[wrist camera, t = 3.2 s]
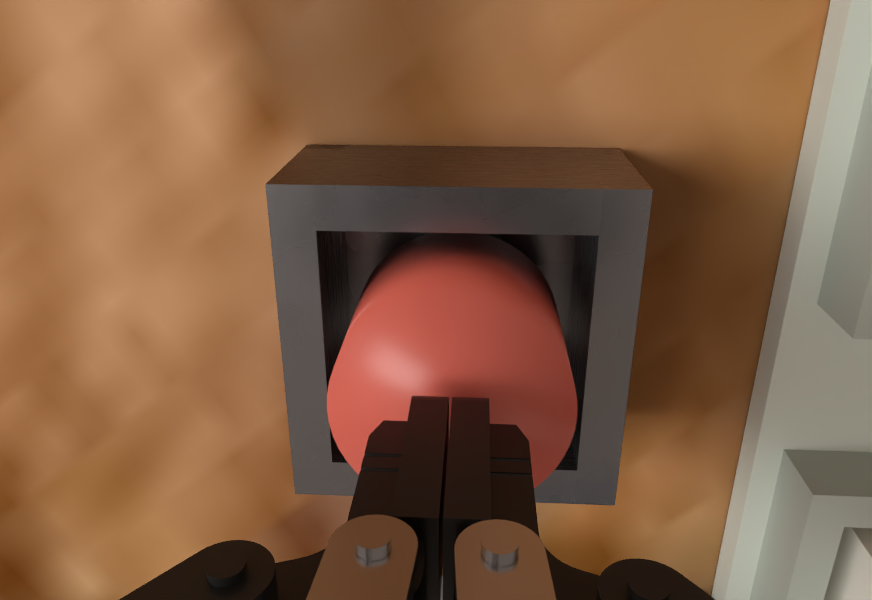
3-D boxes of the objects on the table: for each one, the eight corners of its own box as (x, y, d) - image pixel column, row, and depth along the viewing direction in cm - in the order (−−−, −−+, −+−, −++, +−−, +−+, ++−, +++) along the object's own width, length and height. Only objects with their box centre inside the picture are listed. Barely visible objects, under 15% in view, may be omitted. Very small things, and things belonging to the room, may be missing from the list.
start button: (353, 228, 17) (318, 295, 14) (564, 232, 17) (587, 301, 13) (361, 408, 19) (333, 508, 16) (551, 414, 19) (568, 517, 15)
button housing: (307, 144, 19) (265, 184, 15) (619, 148, 19) (652, 189, 15) (325, 409, 22) (295, 493, 18) (592, 416, 22) (614, 505, 18)
